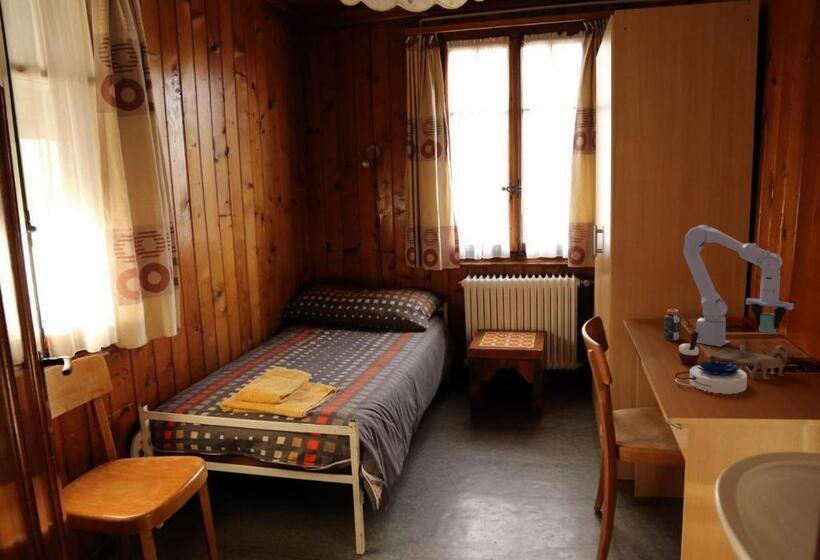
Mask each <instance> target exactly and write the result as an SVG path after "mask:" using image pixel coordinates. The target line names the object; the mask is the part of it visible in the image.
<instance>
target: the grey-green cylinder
mask: <svg viewBox="0 0 820 560" xmlns="http://www.w3.org/2000/svg"><path fill="white" fill-rule="evenodd" d="M774 323H775V314H774V312H773V313H770V312H763V313H761V314H760V325H759V326H758V330H759V331H758V332H760V333H764V334H775V333H776V332H777V329H774Z"/></svg>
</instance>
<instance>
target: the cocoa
mask: <svg viewBox="0 0 820 560" xmlns="http://www.w3.org/2000/svg"><path fill="white" fill-rule="evenodd" d="M692 333H693V334H692V337H691V340H690V343H681V344H680V345H679V346H678V355H679V360H680V361H681V362H683V363H684V364H685V365H686V364H687V365H694V364H696V363H697V362H699V358H700V349H699V347H698V346H696V345H697V338H698V334H699V333H698V332H696V331H694V332H692Z"/></svg>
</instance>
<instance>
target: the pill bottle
mask: <svg viewBox="0 0 820 560" xmlns="http://www.w3.org/2000/svg"><path fill="white" fill-rule="evenodd" d="M666 313H667V314H665V315H664V316H663V317H664V323H663V324H664V325H663V327H664V328H663V338H664V339H665V340H668V341H678V340H681V338H682V337H681V336H682V332H681V331H682V317H681V315H679V310H678V309H676V308H669V309H667V311H666Z"/></svg>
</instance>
